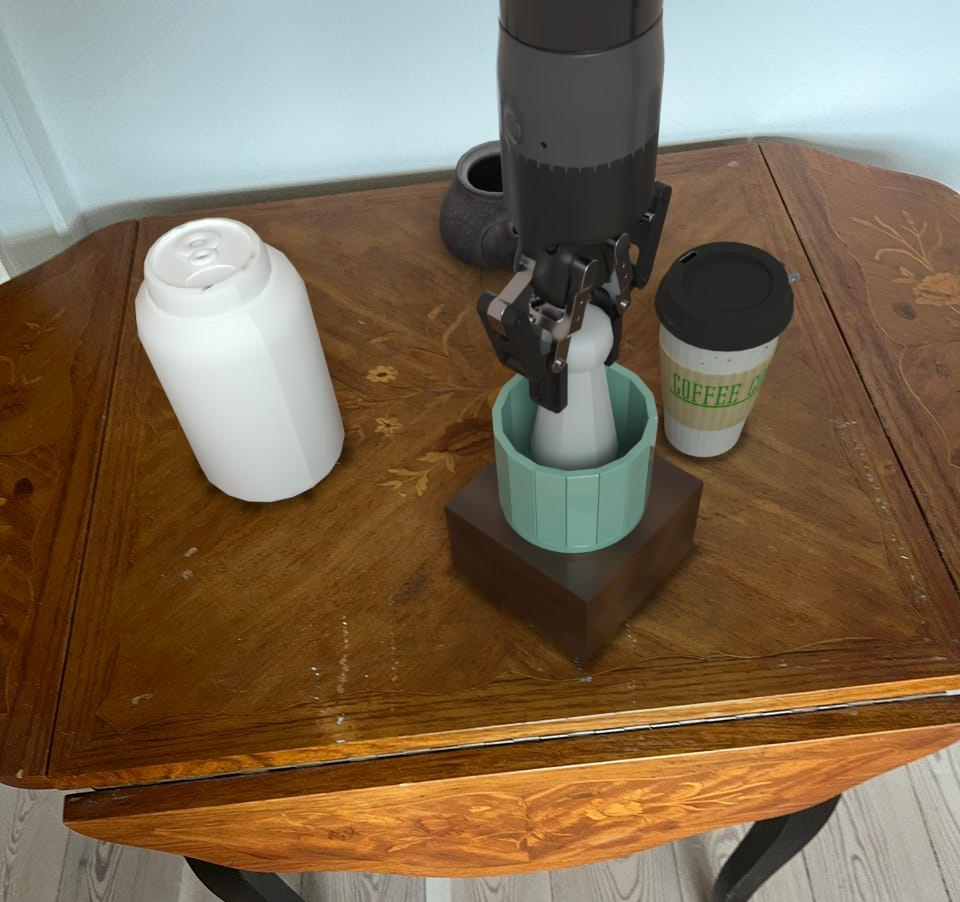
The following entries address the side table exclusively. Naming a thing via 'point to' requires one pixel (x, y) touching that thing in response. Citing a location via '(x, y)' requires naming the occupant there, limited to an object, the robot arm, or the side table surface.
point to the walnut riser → (573, 559)
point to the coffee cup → (717, 340)
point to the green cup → (575, 471)
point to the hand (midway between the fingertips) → (576, 379)
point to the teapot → (479, 212)
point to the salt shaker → (580, 404)
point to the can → (239, 359)
